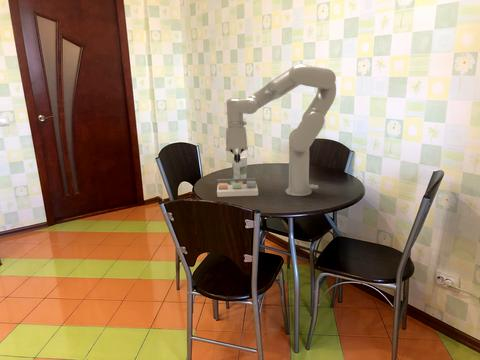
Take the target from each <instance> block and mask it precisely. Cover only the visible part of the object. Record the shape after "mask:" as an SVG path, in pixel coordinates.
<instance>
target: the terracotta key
mask: <svg viewBox="0 0 480 360" xmlns="http://www.w3.org/2000/svg"><path fill="white" fill-rule="evenodd" d="M227 188H228V183H219V184H218V189H227Z"/></svg>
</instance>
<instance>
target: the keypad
mask: <svg viewBox="0 0 480 360" xmlns="http://www.w3.org/2000/svg"><path fill="white" fill-rule="evenodd" d="M246 181H256V182H257V177H254V178H253V177H251V178H250V177H247V178H242V179H233V178H221V179H220V178H219V179H216V183H217V187H216V188H217V189H216V196H217V197H218V198H221V197H223V198H225V197H244V196H245V197H248V196H249V197H250V196H251V197H253V196H259V188H258V185H257V183H256V186H247V184H246ZM219 183H228V188H227V189H218V184H219ZM232 183H242V188H233V184H232Z"/></svg>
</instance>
